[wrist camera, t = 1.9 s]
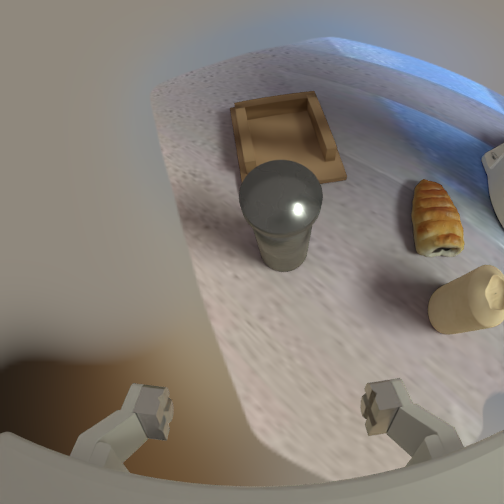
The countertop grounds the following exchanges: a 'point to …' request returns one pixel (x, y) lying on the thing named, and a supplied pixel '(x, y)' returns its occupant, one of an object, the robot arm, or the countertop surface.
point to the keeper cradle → (286, 135)
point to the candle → (469, 302)
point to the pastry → (435, 221)
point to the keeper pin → (281, 211)
